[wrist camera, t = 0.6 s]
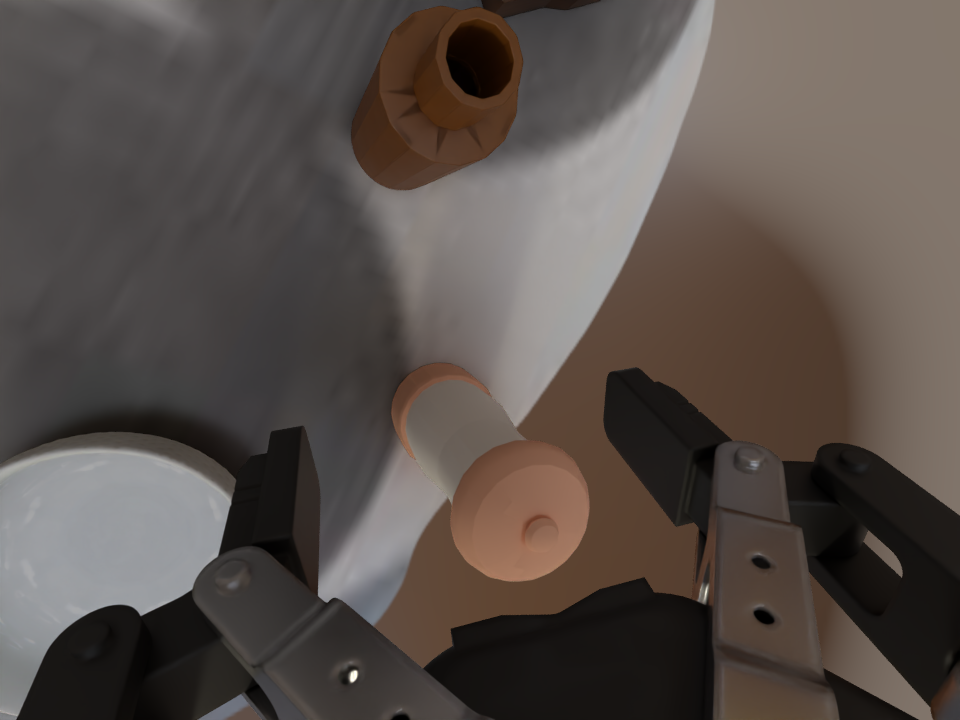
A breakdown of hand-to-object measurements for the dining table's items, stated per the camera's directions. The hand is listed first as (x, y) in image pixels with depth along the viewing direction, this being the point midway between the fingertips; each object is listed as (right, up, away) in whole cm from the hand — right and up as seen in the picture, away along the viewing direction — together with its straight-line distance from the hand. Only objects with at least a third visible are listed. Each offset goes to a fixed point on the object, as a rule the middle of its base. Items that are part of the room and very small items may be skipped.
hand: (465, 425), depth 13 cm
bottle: (-5, +17, +21) cm, 28 cm away
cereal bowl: (-23, -9, +21) cm, 33 cm away
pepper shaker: (-3, -2, +27) cm, 27 cm away
